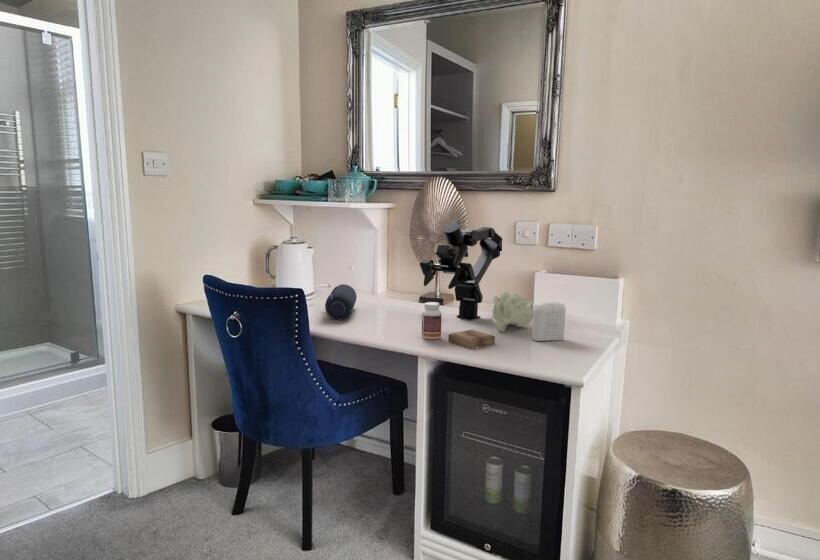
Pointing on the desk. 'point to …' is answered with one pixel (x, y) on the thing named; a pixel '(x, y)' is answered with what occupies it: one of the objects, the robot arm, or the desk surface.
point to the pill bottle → (431, 321)
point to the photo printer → (548, 321)
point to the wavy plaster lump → (511, 311)
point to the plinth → (471, 338)
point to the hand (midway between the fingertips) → (436, 286)
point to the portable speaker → (341, 302)
